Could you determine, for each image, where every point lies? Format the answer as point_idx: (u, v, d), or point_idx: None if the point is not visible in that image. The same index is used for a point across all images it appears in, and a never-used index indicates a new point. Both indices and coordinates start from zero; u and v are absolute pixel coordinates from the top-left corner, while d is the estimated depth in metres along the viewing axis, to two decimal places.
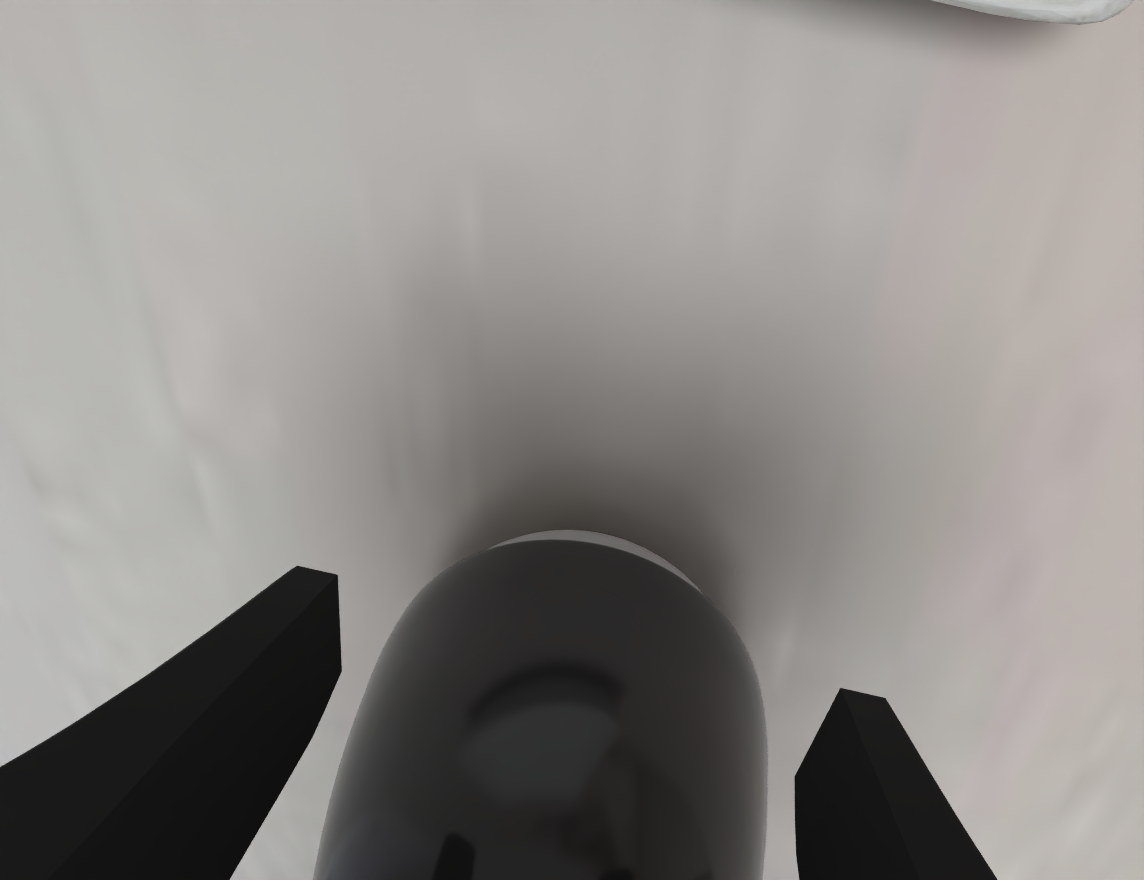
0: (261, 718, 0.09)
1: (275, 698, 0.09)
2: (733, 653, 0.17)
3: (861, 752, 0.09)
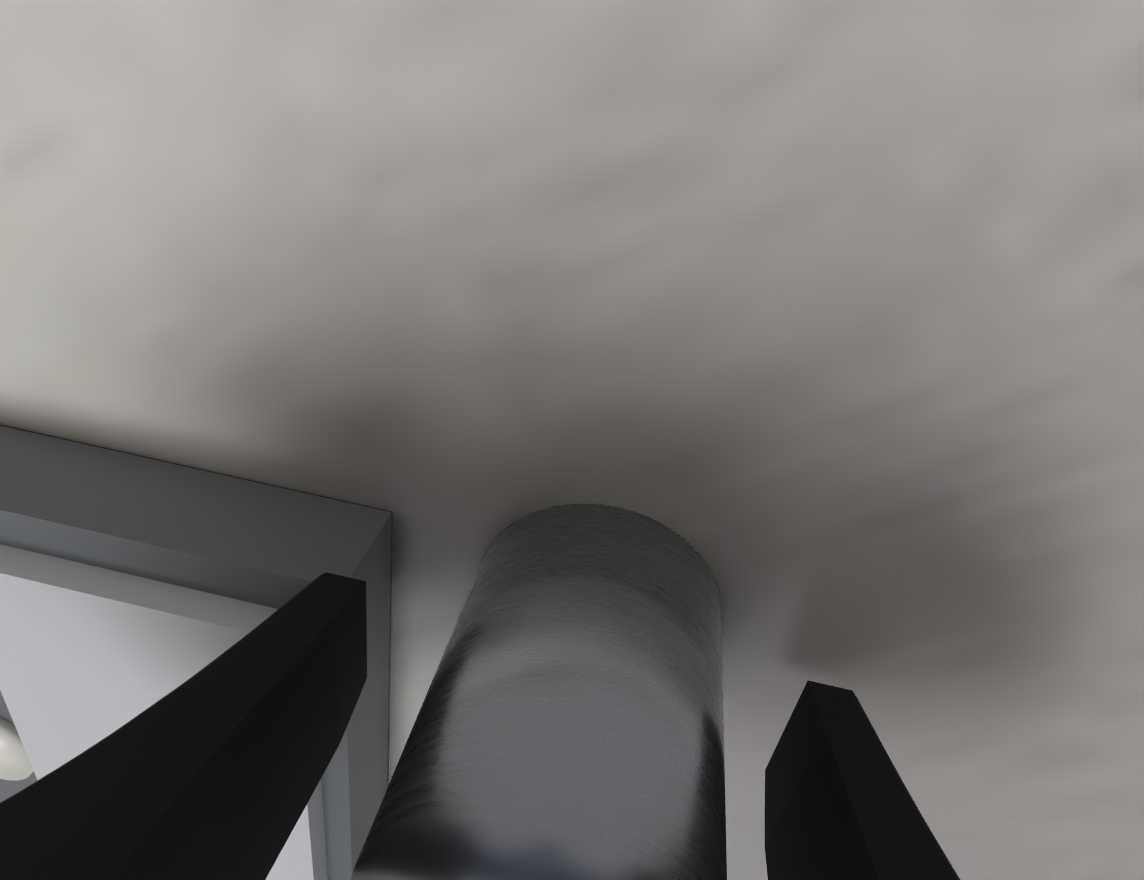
0: (293, 725, 0.09)
1: (307, 705, 0.09)
2: None
3: (824, 744, 0.09)
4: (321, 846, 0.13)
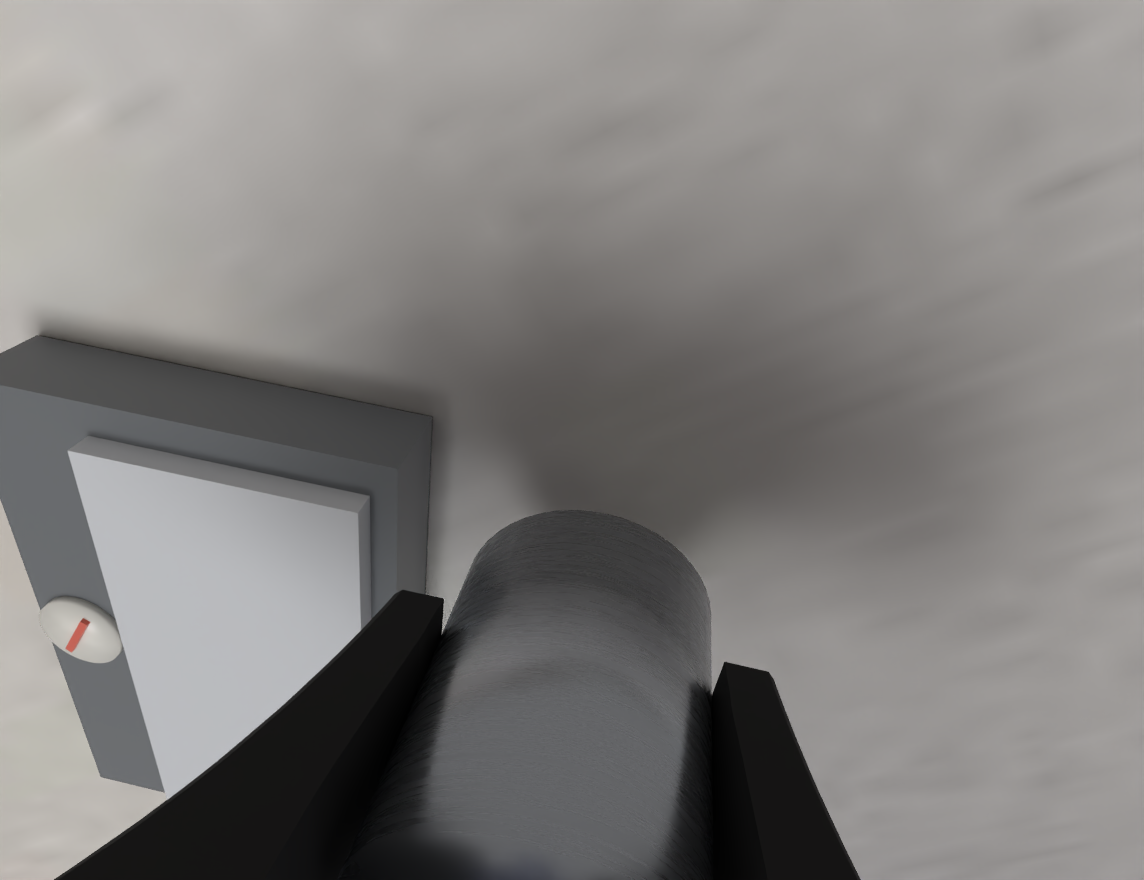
0: (383, 748, 0.09)
1: (394, 726, 0.09)
2: None
3: (731, 722, 0.09)
4: None
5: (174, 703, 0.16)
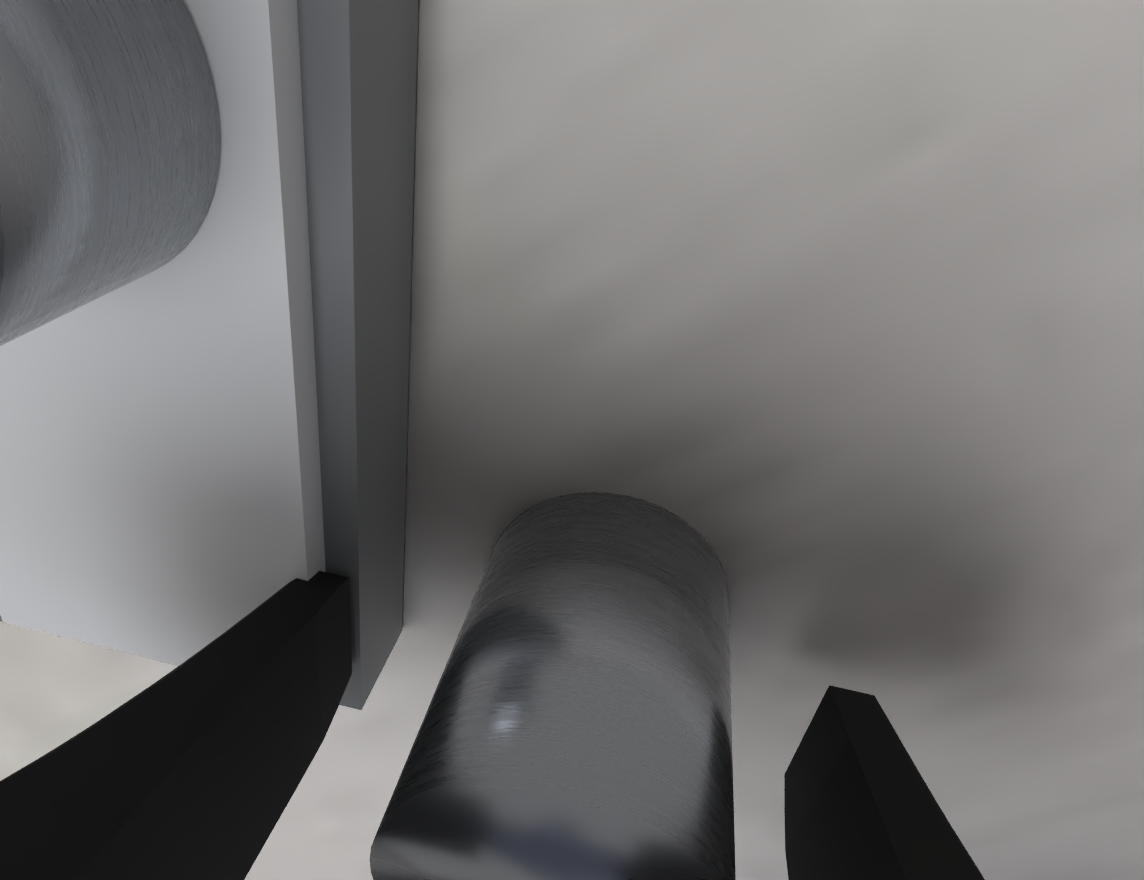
0: (274, 721, 0.09)
1: (288, 701, 0.09)
2: None
3: (849, 749, 0.09)
4: (311, 418, 0.09)
5: None
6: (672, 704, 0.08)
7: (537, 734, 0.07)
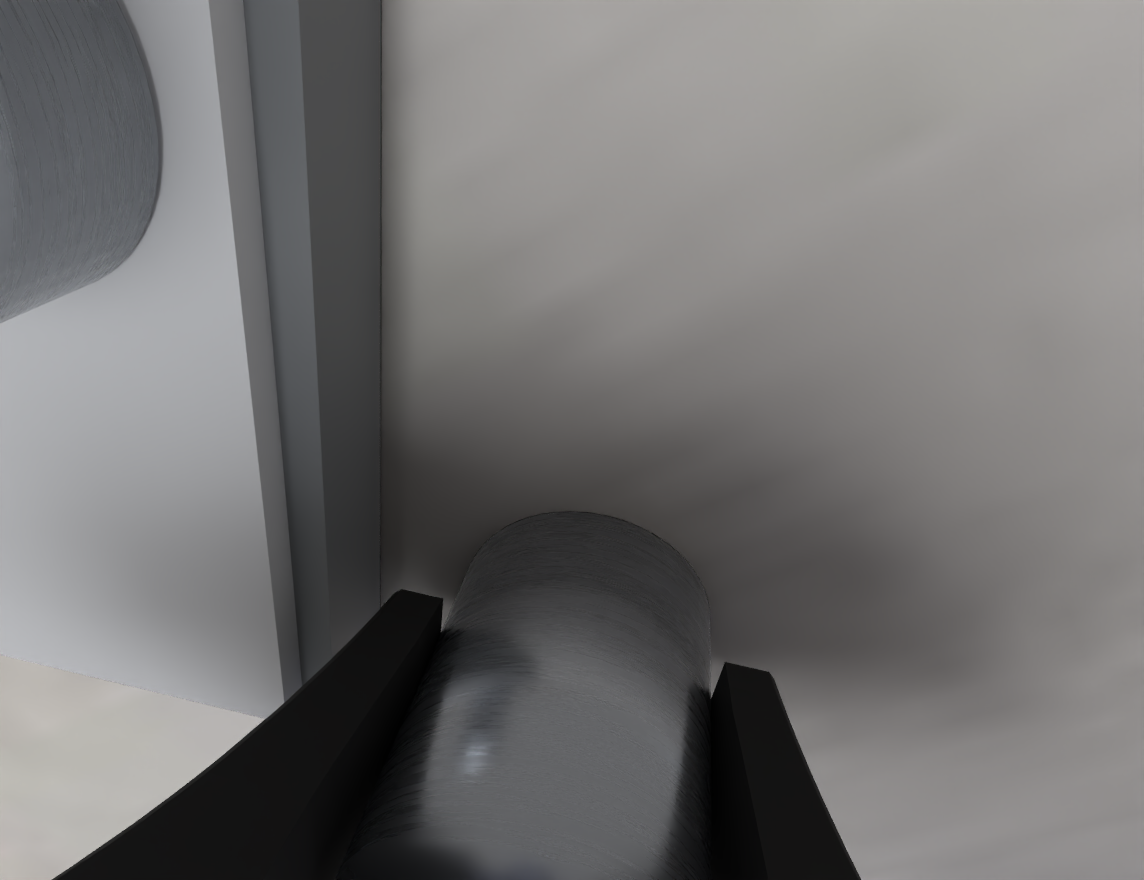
0: (382, 747, 0.09)
1: (393, 726, 0.09)
2: None
3: (732, 722, 0.09)
4: (273, 434, 0.08)
5: None
6: (645, 740, 0.08)
7: (501, 780, 0.07)
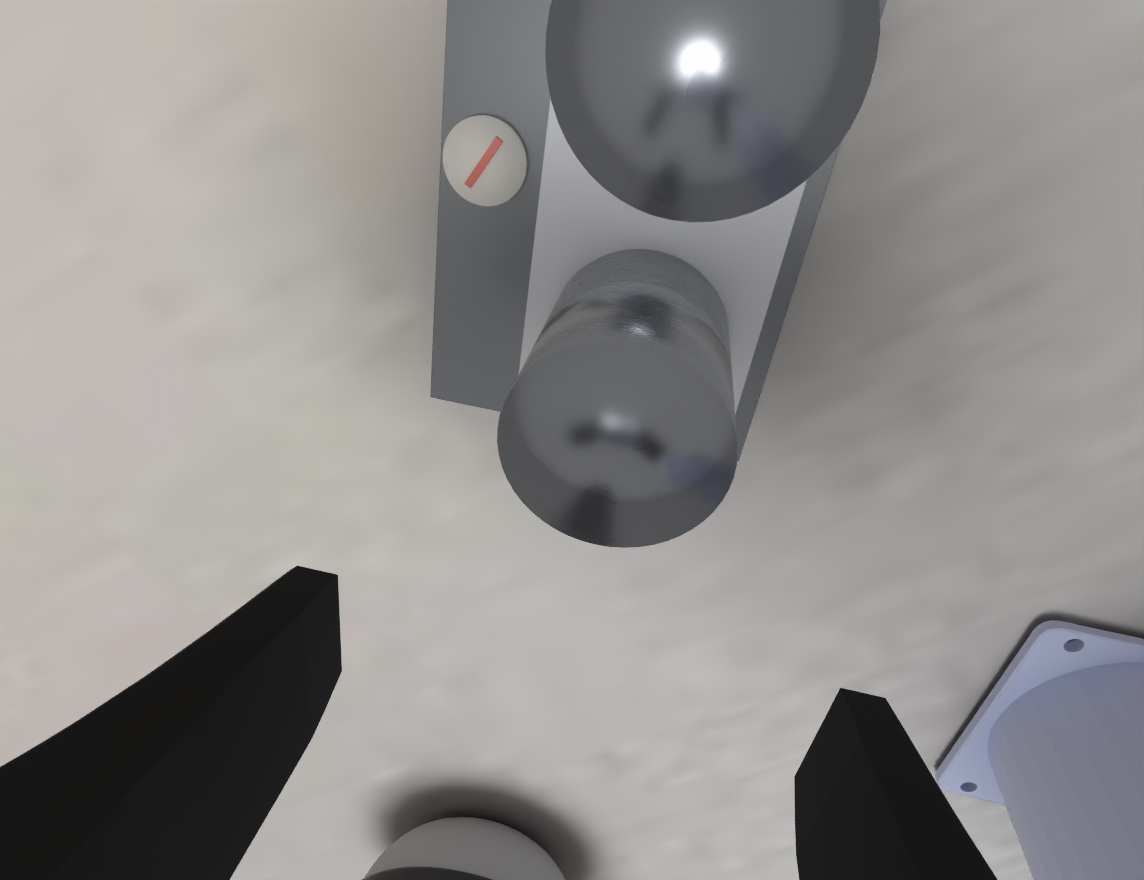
0: (260, 719, 0.09)
1: (275, 698, 0.09)
2: None
3: (861, 752, 0.09)
4: None
5: (574, 241, 0.15)
6: (694, 330, 0.12)
7: (610, 325, 0.11)
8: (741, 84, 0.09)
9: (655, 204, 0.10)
